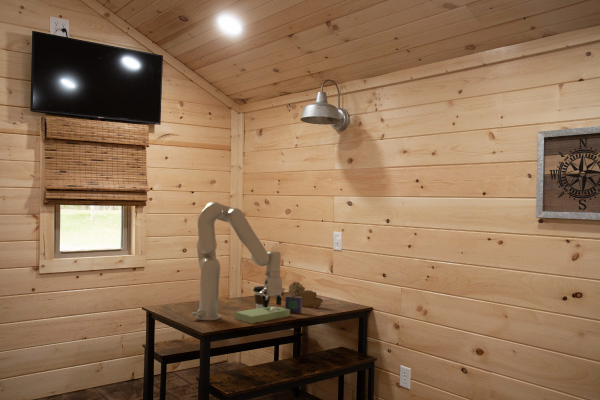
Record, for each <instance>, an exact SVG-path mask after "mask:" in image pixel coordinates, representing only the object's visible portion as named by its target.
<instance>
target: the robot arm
mask: <svg viewBox="0 0 600 400" xmlns="http://www.w3.org/2000/svg"><path fill="white" fill-rule="evenodd" d="M216 220H218V221H221V222H225V223H229V224H230V226H231V227H232V229H233V230H234V233H235V234H236V236H237V237H238V239H239V241H240V242H241V244H243V246H245V247H246V248H247V250H248V251H249V253H250V254H251V258H250V259H251V261H252V262H253V263H254V264H255V265H257V266H259V267H266V268H265V269H266V271H265V273H264V274H265V275H264V276H265V278H264V281H263V282H264V283H263V286H264V289H263V290H262V291H260V295H261V298H262V299H263V307H266V308H267V307H268V306H269V305H268V300H267V299H268V297H269V296H270V297H275V298H276V300H275V301H276V302H275V303H276V304H275V305H277V306H282V299H283V295H284V293H285V290H286V288H284V287H283V281H282V279H283V278H282V276H281V252H280V251H278V250H270V251H267V250H266V249H265V247H264V245H263V242H261V240H260V239H259V237H258V235H256V233H255V231H254V229H253V228H252V226H251V225H250V223H249V221H248V219H247V218H246V216H245V214H244V212H243V210H241V209H239V208H238V207H237V208H236V207H232V206H228V205H224V204H221V203H220V202H218V201H210V202H208V203H207V204H206V205H205V206H204V208H203V209H202V210H201V212H200V213H199V216H198V219H197V234H198V239H197V241H196V251H197V259H198V267H199V268H200V282H199V283H200V284H199V285H200V286H199V308H198V309H197V311H193V312H191V314H190V316H191V317H195V318H196V320H199V321H216V320H217V321H218V320H220V319H221V318H222V316H221V314H220V313H219V295H220V287H219V286H220V275H221V264H220V261H219V260H218V258H217V254H216V250H217V245H218V243H217V239H216V232H215V231H216V230H215V223H216ZM263 293H264V294H263Z"/></svg>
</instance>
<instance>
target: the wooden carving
mask: <svg viewBox="0 0 600 400" xmlns="http://www.w3.org/2000/svg"><path fill="white" fill-rule="evenodd" d="M299 296H300V297H302V307H304V308H310V309H311V308H314V307H315V308H320V307H321V305H322V303H323V302H324V300H323V299H322V298H320V297H317V296H318V295H317V293H316V291H313V290H309V289H307V290H304V291H300V293H299Z"/></svg>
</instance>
